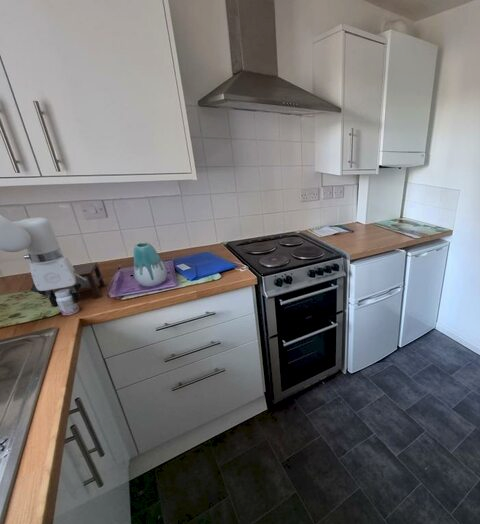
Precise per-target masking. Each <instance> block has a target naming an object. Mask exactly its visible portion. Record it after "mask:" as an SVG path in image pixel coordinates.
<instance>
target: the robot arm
mask: <svg viewBox="0 0 480 524" xmlns="http://www.w3.org/2000/svg"><path fill="white" fill-rule="evenodd" d="M24 250H26V251H27V254H24V255H23V258H24V259H25V260H30V262H29V263H28V264H29V265H28V266H29V271H30V274H31V279H32V281H33V284H32V286H31V288H30V289H29V291H30V292H33V293H36V294H39V295H42V296H45V297H46V298H47V299H48V300H49V302H50V304H51V305H52V304H53V305H54V306H53V307H54V308H57V307H59V306H58V304H57V302H56V298H57V297H56V296H55V293H53V289H59V288H65V287H68V288H69V289H70V290H71V292H72V293H71V295H72V298H73V300H74V303H77V304H79V301H80V300H81V295H80V291H79V292H78V289H79V288H80V287H81V286H82V285H83V284H84V283H85V282H86V279H85V278H83V277H81V276H80V275H78V274H77V273H76V271H75V269H74V267H73V266H74V265H73V264H72V263H71V261H70V260H69V258H68V257H67V255H64V254H63V251H62V249H61V246H60V244H59V241H58V239H57V237H56V234H55V231H54V229H53V226H52V225H51V222H50V221H49V219H48V218H45V217H30V218H29V217H28V218H23V219H21V220H18V221H17V220H16V221H12V220H10V219H8V218H6V217H5V216H3V215H1V214H0V251H4V252H7V253H17V252H18V253H19V252H22V251H24ZM77 280H78V281H80V282H79V283H78V284H77V285H76V281H77Z"/></svg>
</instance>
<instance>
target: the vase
mask: <svg viewBox="0 0 480 524" xmlns="http://www.w3.org/2000/svg"><path fill="white" fill-rule="evenodd" d="M133 276H134V279H135V281H136V282H137V283H138V284H139V285H140V286H142V287H146V288H152V287H156V286H160V285H162V284H163V283H164V282H165V281H166V279H167V278H168V269H167V266H166V265H165V263H164V261H163V260H162V258H161V257H160V255H159V253H158V252H157V250H156V248H155V247H154V246H153V244H151V243H149V242H138V243H136V244H135V246H134V248H133Z"/></svg>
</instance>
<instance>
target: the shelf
mask: <svg viewBox="0 0 480 524" xmlns="http://www.w3.org/2000/svg"><path fill="white" fill-rule="evenodd" d="M72 266H73V267H74V269H75V271H76V273H77V274H78V275H80V276H81V277H83V278H85V279H86V282H85V283H84V284H83V285H82V286H81V287H80V288H79V289H78V292H79V293H80V292H84V291H89V290H91V291H92V294H93V296H94V299H99V298H101V294H100V291H99V288H98V286H99V287H100V288H102V287H103V288H104V287H105V286H106V283H105V281H104V278H103V275H102V272H101V270H100V267H99V264H98V262H97V261H94V262H86V263H81V264H80V263H79V264H74V265H72ZM93 274H94V275H93ZM79 282H80V281H78V280H77V281H76V285H77V284H78V283H79ZM62 289H69V288H68V287H65V288H59V289H53V293H55V292H57V291H59V290H62ZM70 291H71V290H70ZM71 293H72V292H71ZM51 306H52V307H54V305H53V304H51Z"/></svg>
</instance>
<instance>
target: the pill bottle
mask: <svg viewBox="0 0 480 524" xmlns="http://www.w3.org/2000/svg"><path fill="white" fill-rule="evenodd" d="M55 296H56V297H57V298H56V302H57V304H58V306H57V307H58V308H59V310H60V313H61V314H62V315H63V316H70V315H73V314H76V313H78V312H79V311H80V307H79V303H74V300H73V298H72V295H71V291H70V289H62V290H59V291H57V292H55Z"/></svg>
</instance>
